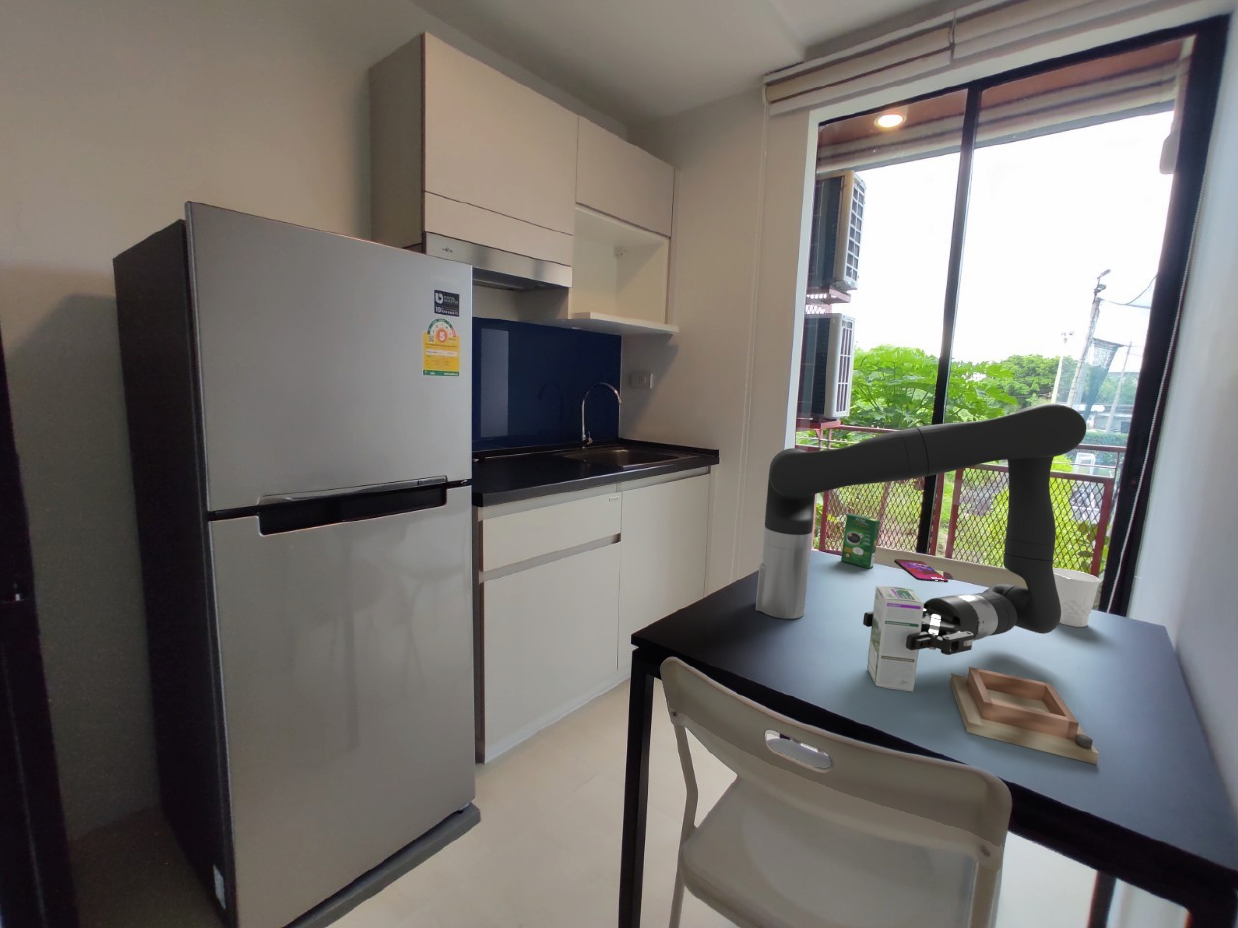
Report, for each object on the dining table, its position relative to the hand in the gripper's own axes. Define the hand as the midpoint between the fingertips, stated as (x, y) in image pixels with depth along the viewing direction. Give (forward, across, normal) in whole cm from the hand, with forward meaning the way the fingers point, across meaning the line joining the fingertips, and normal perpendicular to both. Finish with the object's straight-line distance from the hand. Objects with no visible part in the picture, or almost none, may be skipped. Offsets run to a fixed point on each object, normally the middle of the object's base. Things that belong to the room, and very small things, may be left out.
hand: (885, 630), depth 84 cm
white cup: (-59, -6, +9) cm, 60 cm away
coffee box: (-43, -47, +9) cm, 64 cm away
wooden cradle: (-11, +13, +8) cm, 19 cm away
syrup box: (-2, 0, +9) cm, 9 cm away
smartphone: (-56, -38, +9) cm, 68 cm away
